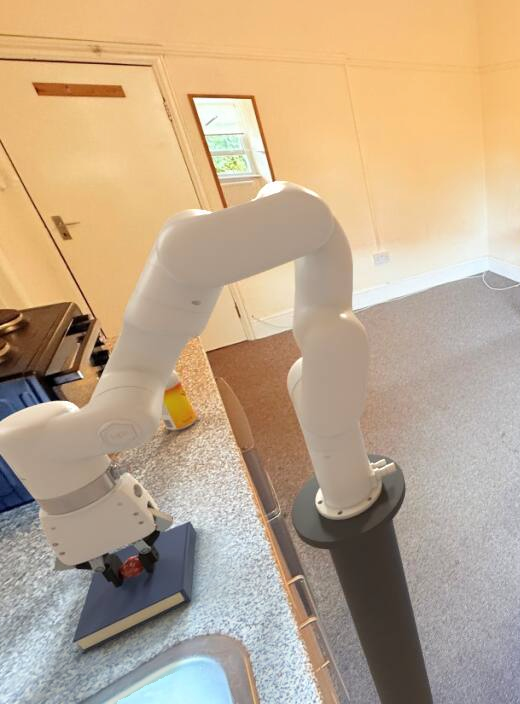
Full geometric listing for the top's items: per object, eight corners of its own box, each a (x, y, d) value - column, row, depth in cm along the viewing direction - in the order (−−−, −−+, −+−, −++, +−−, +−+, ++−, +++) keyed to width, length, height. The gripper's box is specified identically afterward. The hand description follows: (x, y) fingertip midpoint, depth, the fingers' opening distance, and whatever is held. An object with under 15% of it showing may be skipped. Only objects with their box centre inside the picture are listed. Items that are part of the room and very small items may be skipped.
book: (196, 532, 71) (190, 520, 70) (191, 600, 61) (183, 588, 59) (106, 570, 65) (97, 558, 64) (83, 653, 55) (72, 641, 53)
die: (153, 560, 63) (145, 547, 62) (144, 578, 60) (136, 565, 59) (131, 566, 62) (122, 554, 61) (121, 585, 60) (112, 572, 58)
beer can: (203, 415, 102) (180, 366, 95) (185, 431, 96) (160, 380, 90) (179, 416, 102) (156, 366, 95) (161, 432, 96) (134, 380, 90)
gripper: (160, 445, 60) (202, 527, 68) (3, 496, 52) (72, 582, 60) (153, 477, 55) (200, 562, 63) (-24, 539, 47) (56, 628, 55)
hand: (137, 571), depth 61 cm, fingers closed on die, 3 cm apart
